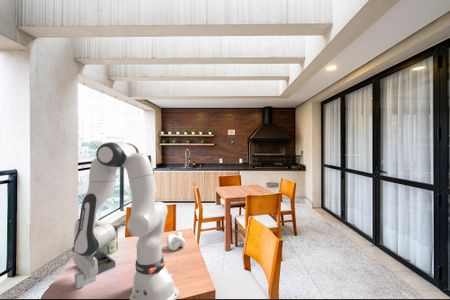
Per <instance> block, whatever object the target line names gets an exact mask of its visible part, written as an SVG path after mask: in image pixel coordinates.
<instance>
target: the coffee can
mask: <svg viewBox="0 0 450 300" xmlns="http://www.w3.org/2000/svg"><path fill="white" fill-rule="evenodd" d="M113 226H114V228H115V237H114V238H113V239H112V240H111V241H110V242H108V243H107V244H106V245H104V246H103V247H101V248H102V252H103V253H105V254H106V255H107V256H109V255H112V254H115V253H116V252H117V251H118V250H119V248H118V246H119V244H118V243H119V240H118V239H119V238H118V232H119V231H118V229H119V228H118V226H115V225H113Z"/></svg>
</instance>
